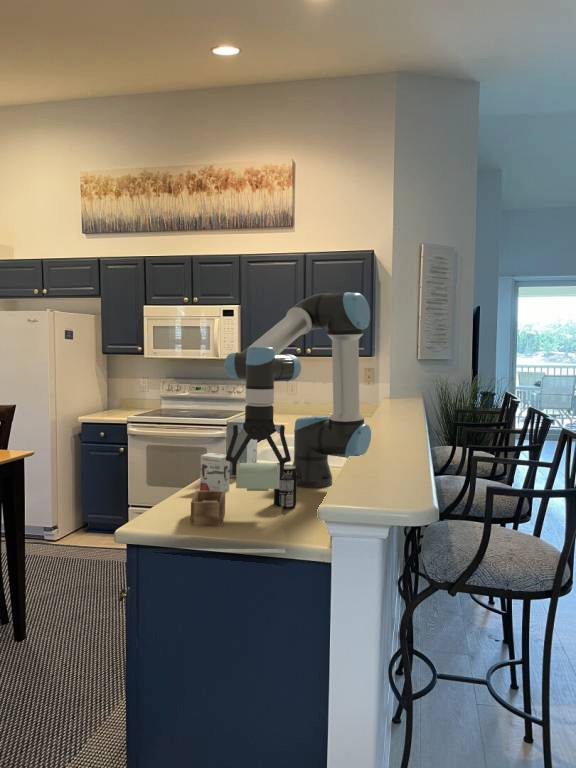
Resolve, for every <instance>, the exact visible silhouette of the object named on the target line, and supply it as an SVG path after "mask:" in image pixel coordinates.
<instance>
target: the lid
mask: <svg viewBox="0 0 576 768" xmlns="http://www.w3.org/2000/svg"><path fill="white" fill-rule="evenodd" d="M277 476H278V473H277V462H275V463H274V462H273V463H272V462H267V463H266V462H257V463H240V468H239V473H238V488H237V489H246V491H247V492H268V491H270V490H274V489H277ZM269 489H270V490H269Z"/></svg>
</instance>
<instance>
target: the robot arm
mask: <svg viewBox="0 0 576 768" xmlns="http://www.w3.org/2000/svg"><path fill="white" fill-rule="evenodd" d="M370 321H371V310H370V305H369V303H368V301H367V299H366V297H365V296H364V295H363V294H362V293H359V292H349V291H348V292H332V293H331V292H327V293H316V294H313V295H311V296H308V297H307V298H305V299H302V300H301V301H299V302H297V304H295V305H293V306H292V307H291V308H289V309H288V311H287V312H286V315H285V317H284V318H282V319H281V320H280V321H279V322H277V323H276V324H275V325H274V326H272V327H271V328H270V329H269V330H267V331H266V332H265V333H264V334H263V335H262V336H260V337H259V338H258V339H256V340H255V341H254V342H253V343H252V344H250V345H249V346H248V347H247V348H245V349H244V350H243V351H242V352H237V351H236V352H231V353H229V354H228V355H227V356H226V357H225V360H224V367H223V368H224V371H225V374H226V375H227V377H229V378H232V379H237V380H245V397H244V399H245V400H244V401H245V403H246V405H245V407H244V409H245V410H244V418H245V422H244V424H240V425H237V424H234V426H233V436H232V440H231V443H230V446H229V449H228V452H227V451H226V454H225V455H226V461H230V462H231V463H232V474H233V475H236V477H235V478H236V479H235V480H236V482H235V489H239V488H238V473H239V468H240V462H237V461H238V459H239V458H240V456H241V454H242V453H243V451H244V449H245V448H246V446H247V444H248V443H249V441H250V440H251V439H253V440H257V441H258V440H262V441H265V440H266V441H267V442H268V445H269V446H270V447H271V450H272V451H273V453H274V455H275V457H276V459H277V460H278V462H276V466H277V473H278V476H277V489H279V480H280V476H283V475H284V465H286V463H290V462H291V460H292V458H291V454H290V451H289V447H288V446H289V445H288V442H287V439H286V436H285V425H284V424H279V425H278V424H275V423H274V422H275V421H274V406H273V404H274V402H275V401H274V399H275V382H290V381H294V380H296V379H297V378H298V377H299V376H300V374H301V371H302V365H301V364H302V363H301V361H300V359H299V358H298V357H297V356H295V355H294V354H289V353H284V354H283V353H282V352H283V351H284V350H285V349H286V348H287V347H288V346H290V345H291V344H292V343H293V342H294V341H296V339H298V338H299V337H300V336H302V335H306V334H308V333H309V332H310V331H313V330H322V329H323V330H327V331H326V332H327V334H326V335H327V336H328V338H329V339H331V350H332V351H331V353H332V354H331V355H332V356H331V357H332V361H331V362H332V407H333V409H332V413H331V414H330V415H329V416H328V415H314V416H305V417H299V418H297V419H296V420H295V422H294V430H293V432H294V434H293V435H294V437H293V438H294V439H293V443H294V444H293V451H294V452H293V462H292V465H293V466H295V467H296V468H295V469H296V471H297V487H299V488H323V487H329V486H331V485H332V484H333V476H332V472H331V468H330V465H329V462H328V461H329V459H328V457H329V456H330V457H331V456H332V457H339V458H346V459H348V457H349V456H360V455H363V454H364V455H365V454H366V453H367V452H368V449H369V447H370V444H371V440H372V429H371V426H370V425H369V424H367V423H365V417H364V416H363V414H362V413H361V412H360V361H359V360H360V359H359V357H360V355H359V354H360V353H359V351H360V349H359V348H360V347H359V346H360V345H359V343H360V338H361V337H363V335H364V330H366V329H367V328H368V327H369V325H370ZM281 353H282V354H281ZM243 428H244V430H245V431H246V433H247V434H248V435H247V436H246V438H245V440H244V441H243V443H242V445H241V446H240V448H239V450H238V451H237V453H236V454H235V456H234V457H232V456H231V455H232V451H233V448H234V445H235V442H236V439H237V435H238V433H240V432H241V429H243ZM274 430H275V431H276V433H277V434H279V436H280V437H279V438H280V440H281V445H282V449H283V452H284V455H285V456H284V457H283V456H282V454H281V452H280V450H279V448H278V446H277V445H276V443H275V441H274V439H273V438H272V435H271V434H272V433H273V431H274ZM364 455H363V456H364Z"/></svg>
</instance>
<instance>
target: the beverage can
mask: <svg viewBox="0 0 576 768" xmlns="http://www.w3.org/2000/svg"><path fill="white" fill-rule="evenodd" d="M295 468H296V467H295V466H293V464H284V475H283V476H280V480H279V489H273V506H275V507H279V508H281V510H292V509H295V507H296V506H297V493H298V492H297V489H298V488H297V487H298V486H297V471H296V469H295Z"/></svg>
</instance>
